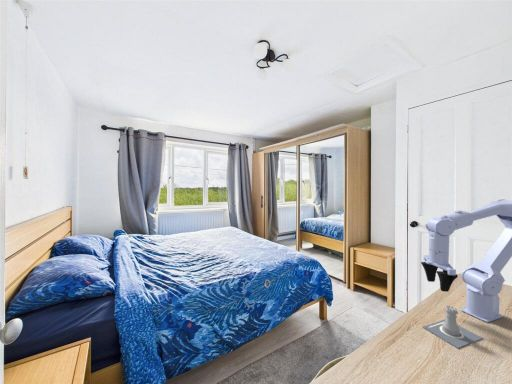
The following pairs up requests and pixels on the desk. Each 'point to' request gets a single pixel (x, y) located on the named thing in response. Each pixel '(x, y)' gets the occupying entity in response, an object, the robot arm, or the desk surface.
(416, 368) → the desk surface
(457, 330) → the rook chess piece
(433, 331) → the grey base plate
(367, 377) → the desk surface
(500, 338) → the desk surface
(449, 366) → the desk surface
